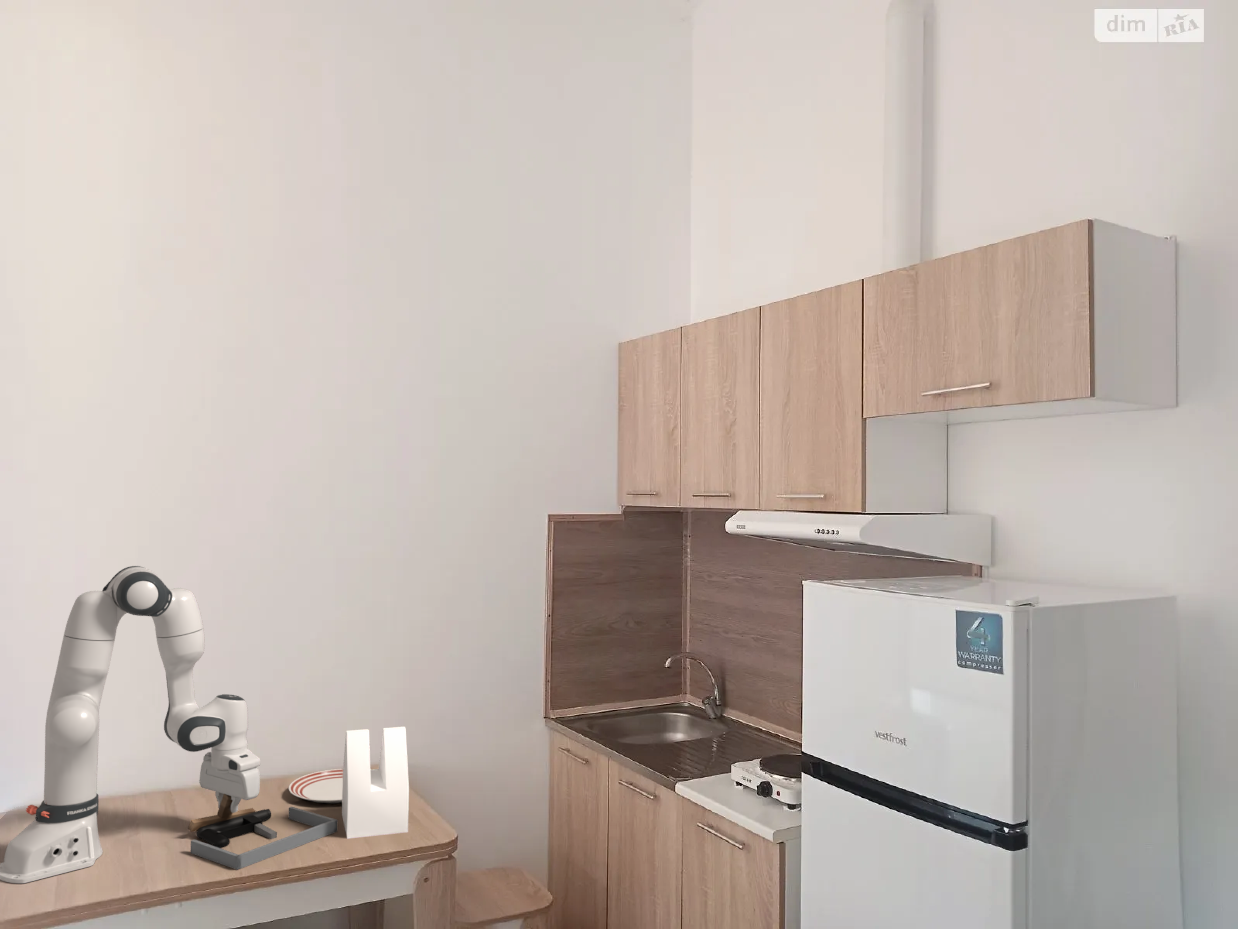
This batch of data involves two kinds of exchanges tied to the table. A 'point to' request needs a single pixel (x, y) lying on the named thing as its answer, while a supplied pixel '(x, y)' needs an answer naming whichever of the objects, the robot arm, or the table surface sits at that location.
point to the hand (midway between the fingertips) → (228, 810)
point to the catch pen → (235, 861)
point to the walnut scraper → (218, 815)
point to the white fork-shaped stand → (375, 785)
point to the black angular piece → (236, 828)
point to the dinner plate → (319, 786)
